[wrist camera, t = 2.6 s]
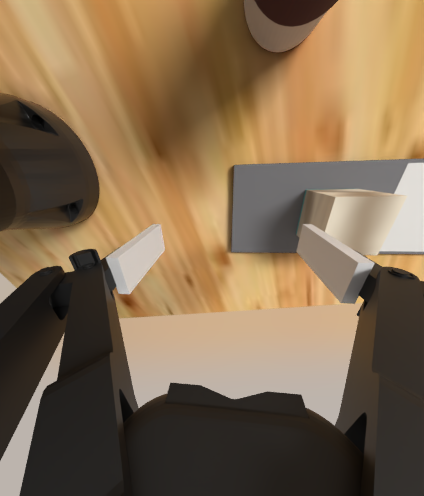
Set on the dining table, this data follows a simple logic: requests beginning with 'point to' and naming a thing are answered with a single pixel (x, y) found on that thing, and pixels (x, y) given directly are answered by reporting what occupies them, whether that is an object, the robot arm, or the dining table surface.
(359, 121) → the dining table surface
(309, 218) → the birch cube
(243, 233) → the charcoal mat
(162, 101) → the dining table surface
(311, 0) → the coffee cup
